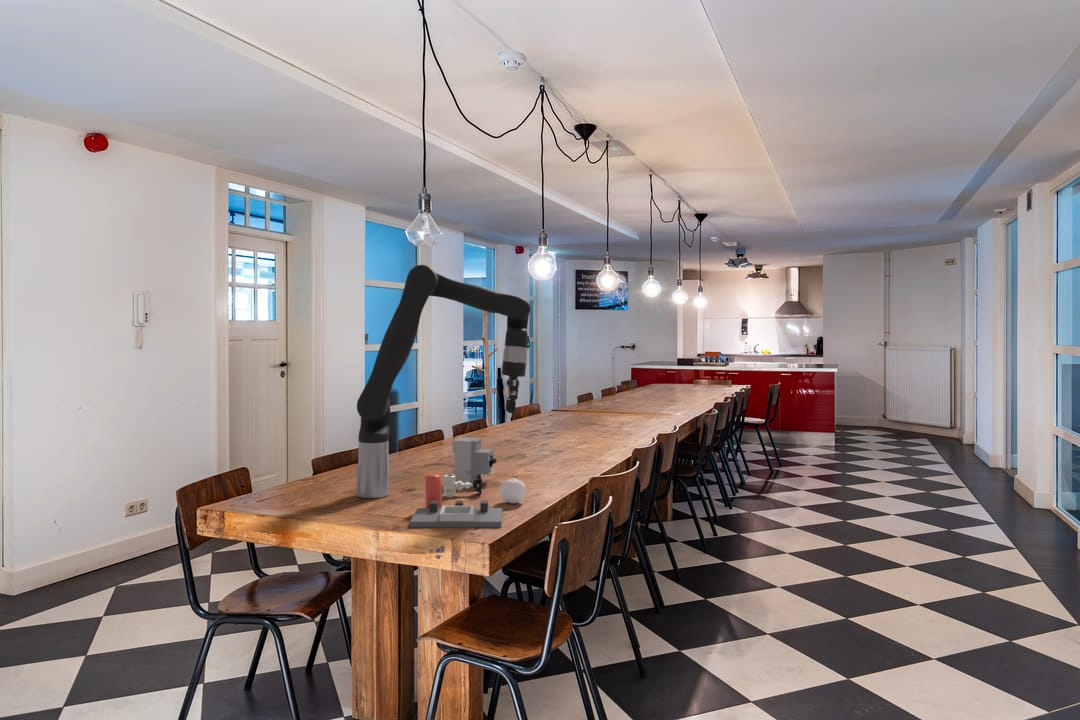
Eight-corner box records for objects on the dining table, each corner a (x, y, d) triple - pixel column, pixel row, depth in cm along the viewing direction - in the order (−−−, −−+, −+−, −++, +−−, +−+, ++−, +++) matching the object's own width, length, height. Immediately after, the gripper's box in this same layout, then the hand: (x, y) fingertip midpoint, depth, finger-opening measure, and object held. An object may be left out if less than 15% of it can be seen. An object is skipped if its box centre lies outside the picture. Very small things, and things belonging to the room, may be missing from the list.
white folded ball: (524, 499, 206) (524, 475, 206) (527, 505, 198) (527, 480, 198) (498, 500, 205) (498, 475, 205) (500, 506, 197) (500, 480, 197)
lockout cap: (424, 511, 190) (424, 477, 190) (426, 507, 195) (426, 474, 195) (440, 511, 190) (440, 477, 190) (442, 507, 195) (442, 474, 195)
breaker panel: (409, 527, 175) (410, 512, 174) (417, 513, 189) (417, 499, 188) (501, 527, 176) (501, 512, 175) (502, 513, 190) (502, 499, 189)
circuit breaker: (492, 485, 225) (493, 441, 225) (452, 484, 227) (452, 440, 227) (497, 481, 233) (498, 438, 232) (458, 479, 235) (458, 437, 234)
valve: (443, 499, 206) (482, 497, 209) (443, 477, 206) (482, 476, 209) (442, 494, 213) (479, 492, 216) (442, 473, 213) (479, 472, 215)
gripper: (501, 360, 217) (496, 410, 217) (504, 359, 203) (499, 412, 202) (523, 362, 218) (519, 411, 217) (528, 361, 204) (524, 414, 203)
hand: (510, 412), depth 210 cm, fingers open, 8 cm apart
